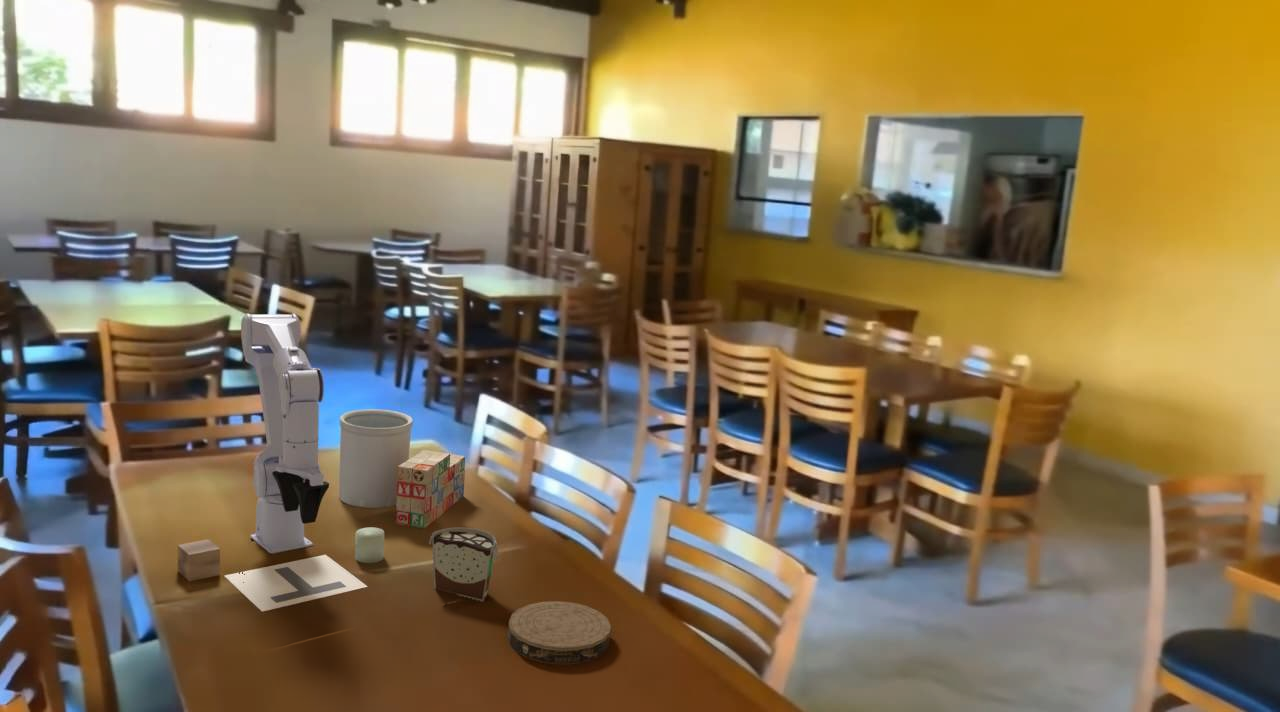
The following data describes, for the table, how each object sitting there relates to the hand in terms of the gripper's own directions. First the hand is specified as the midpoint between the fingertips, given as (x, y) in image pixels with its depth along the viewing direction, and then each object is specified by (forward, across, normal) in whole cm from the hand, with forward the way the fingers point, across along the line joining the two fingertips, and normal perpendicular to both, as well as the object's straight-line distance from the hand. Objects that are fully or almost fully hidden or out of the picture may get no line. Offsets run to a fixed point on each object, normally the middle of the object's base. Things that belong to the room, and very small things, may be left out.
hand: (299, 516), depth 171 cm
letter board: (+10, +5, -2) cm, 11 cm away
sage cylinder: (+9, +1, +12) cm, 16 cm away
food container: (+11, +21, +21) cm, 32 cm away
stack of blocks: (+9, -16, +35) cm, 39 cm away
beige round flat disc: (+12, +44, +24) cm, 51 cm away
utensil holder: (+8, -28, +27) cm, 40 cm away
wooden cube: (+9, -6, -15) cm, 19 cm away
